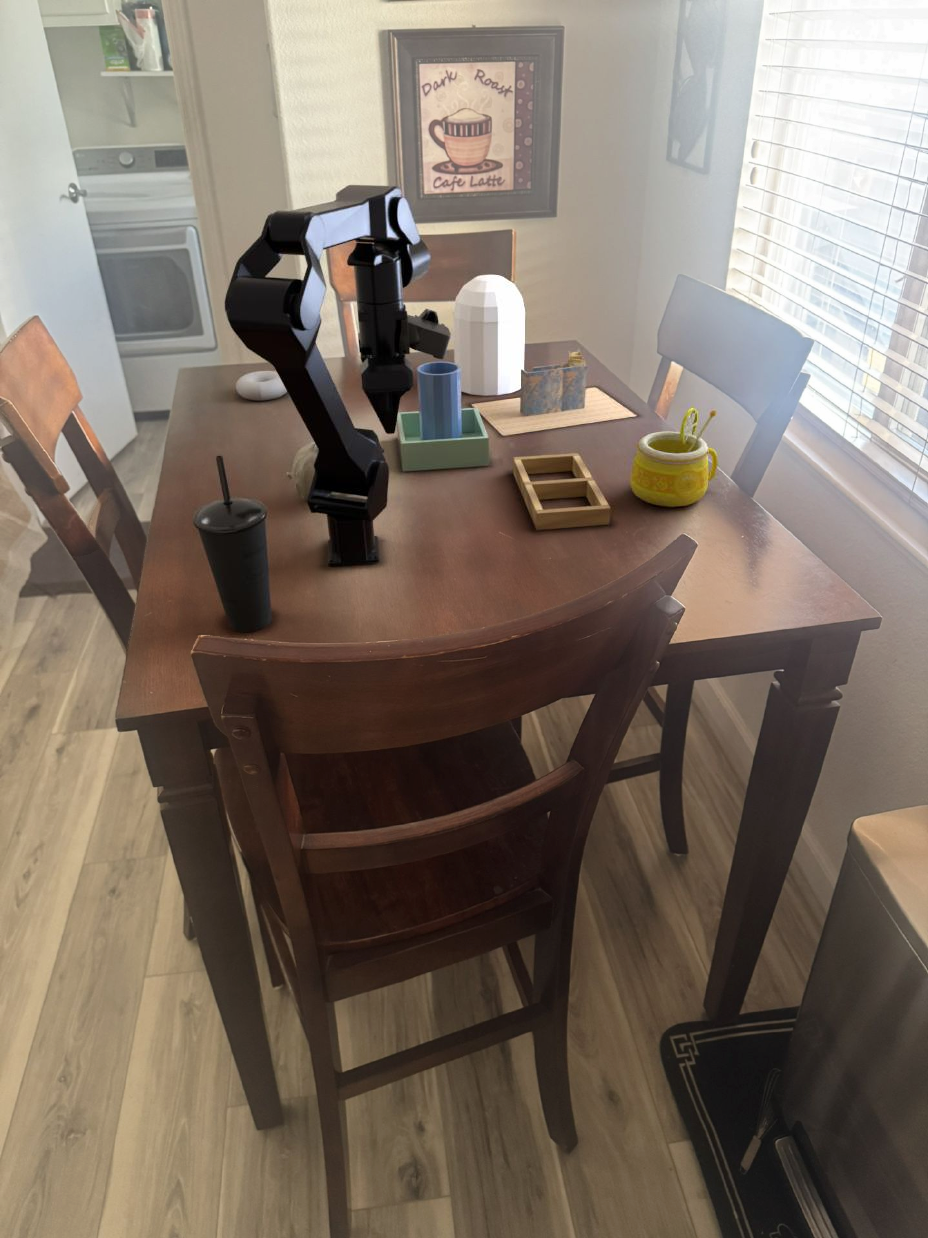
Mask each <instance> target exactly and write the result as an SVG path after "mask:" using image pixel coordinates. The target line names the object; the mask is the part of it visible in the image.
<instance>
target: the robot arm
mask: <svg viewBox="0 0 928 1238" xmlns="http://www.w3.org/2000/svg"><path fill="white" fill-rule="evenodd" d="M402 192H403V190H402V189H401V188H400V187H399V186H397V185H371V184H369V185H368V184H348V185H346V186H345V187H343V188H342V189H341V190H339V191H337V192H336V194H335V199H334V200H332V201H329V202H325V203H320V204H315V205H310V206H306V207H301V208H296V209H292V210H276V211H275V212H271V213H270V214H268V215H267V217H266V219H265V221H264V225H263V228H262V231H261V234H260V236H258V237H257V239H256V240H255V241H254V242H253V243H252V245H250V247H248V249H246V250H245V251H244V253H243V254H242V255H241V256H240V257H239V258H238V260H237V261H236V263H235V266H234V269H233V273H232V275H231V278H230V282H229V283H228V287H227V290H226V294H225V297H224V312H225V315H226V319H227V321H228V323H229V326H230V328H231V330H232V331H233V332H234V333H235V335H236V336H237V337H238V339H239V340H240V341H241V343H242V344H243V345H244V346H245V347H246V348H247V350H249V351H251V352H252V353H254V354H255V355H257V356H259V357H260V358H261V359H263V360H264V361H266V362H268V363H269V364H271V366H272V367H273V368H274V371H275V372H277V373H278V375H279V377H280V379H281V381H282V383H283V384H284V386H285V388H286V390H287V392H286V393H287V394H288V396H289V398H290V399H291V401H292V403H293V405H294V407H295V409H296V410H297V412H298V414H299V416H300V418H301V420H302V422H303V423H304V425H305V427H306V429H307V431H308V433H309V435H310V437H311V439H312V440H313V442H315V444H316V446H317V448H318V454H317V457H316V460H315V462H314V469H315V473H314V476H313V480H312V484H311V487H310V491H309V495H308V498H307V500H306V504H307V506H308V509H309V512H310V514H321V515H326V520H327V521H326V522H327V529H328V537H329V538H328V540H327V566H329V567H339V566H352V565H364V564H377V563H379V562H380V559H381V558H380V549H379V548H380V547H379V537H378V536H377V535H375V528H374V527H375V526H374V521H375V520H376V519H377V518H378V516H379V515H380V514H381V513H382V512H383V511H384V510H385V509H386V508H387V506H388V494H389V483H390V482H389V479H390V467H389V464H388V462H387V460H386V457H385V455H384V454H385V450H386V449H385V448H383V447H382V445H381V442H380V438H379V436H378V434H377V433H376V431H374V430H373V429H368V428H359V427H355V426H354V423H353V421H352V418H351V417H350V415H349V412H348V410H347V408H346V406H345V403H344V402H343V399H342V397H341V395H340V393H339V391H338V389H337V386H336V383H335V381H334V380H333V378H332V375H331V373H330V371H329V369H328V367H327V364H326V363H325V360H324V358H323V356H322V354H321V352H320V350H319V347H318V345H317V339H318V335H319V332H320V328H321V325H322V321H323V319H322V317H321V314H320V312H321V309H322V306H323V302H324V299H325V295H326V293H327V283H326V279H325V276H324V272H323V269H322V265H321V261H320V260H321V257H322V254H323V252H324V251H325V250H327V249H331V248H333V247H338V246H341V245H344V244H346V243H347V244H348V243H350V242H353V241H355V242H356V243H355V245H354V249H353V250H352V251H351V253H350V254H348V257H347V260H346V265H347V266H349V267H353V273H354V285H355V286H354V287H355V295H356V296H355V297H356V308H357V309H356V310H357V320H358V321H357V322H358V333H357V339H358V350H359V354H360V355H359V356H360V360H361V365H360V378H361V388H362V389H361V390H362V391H363V393H364V394H365V396H366V398H367V400H368V402H369V403H370V406H372V409H373V410H374V412H375V415H376V416H377V418H378V421H379V422H380V424H381V427H382V428H383V431H384V432H385V434H387V435H393V434H395V433H396V430H397V416H398V413H399V409H400V404H401V403H400V402H401V399H402V397H403V396H404V395H405V394H406V393H408V392H411V390H412V389H413V388H414V387H415V384H414V383H415V382H414V370H413V366H412V362H410V360H409V359H407V358H406V355H410V354H411V349H412V350H413V351H417V352H420V353H423V354H427V355H430V356H432V357H433V358H434V359H438V360H444V358H445V356H446V352H447V349H448V346H449V343H450V340H451V337H452V334H451V331H450V329H449V327H448V326H447V325H445V324H444V323H440V321H439V316H438V312H437V311H435V310H432V309H429V308H425V309H424V310H423V311H422V312H421V313H420V314H419V315H416V314H415V315H410V314H408V311H407V308H406V306H407V305H406V304H404V291H403V289H405V288H406V287H408V286H410V285H412V284H413V283H415V282H416V281H418V280H421V279H422V278H423V277H424V276H426V274H427V273H428V271H429V270H430V267H431V259H432V258H431V257H432V256H431V253H430V251H429V248H428V246H427V244H426V243H425V241H424V240H422V238H421V236H420V233H419V230H418V227H417V224H416V222H415V219H414V216H413V214H412V211H411V208H410V205H409V202H408V200H407V198H406V197H405V196H402ZM283 255H288V256H289V255H290V256H304V259H305V262H306V269H305V271H304V272H305V273H304V276H303V279H300V278H290V277H289V278H288V277H287V278H286V277H275V276H274V277H272V276H271V277H270V276H268V275H269V273H271V272H272V270H273V269H274V268H275V267H276V266H277V265H278V264H279V263H280V262H281V260H282V258H283ZM332 492H336V493H343V494H348V495H350V496H348V495H346V496H341V495H334V494H332ZM356 496H357V497H356ZM362 497H366V498H362Z"/></svg>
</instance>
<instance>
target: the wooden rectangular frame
mask: <svg viewBox="0 0 928 1238" xmlns="http://www.w3.org/2000/svg"><path fill="white" fill-rule="evenodd" d="M564 472H572V473H573V475H574V477H575V478H566V479H565V478H564V479H549V480H537V481H531V480H530V477H529V475H536V474H548V473H564ZM512 474H513V476H514V479H515V481H516V484H517V487H518V489H519V492H520V494H521V496H522V498H523V500H524V504H525V505H526V508H527V510H528V513H529V515H530V517H531V520H532V522H533V524H534V527H535V530H536V531H542V530H543V531H544V530H554V529H556V530H557V529H567V528H580V527H581V528H582V527H594V526H606V525H610V521H611V506H610V505H609V503H608V501H607V500H606V498H605V495H603V493H602V491H601V489H600V488H599V486H598V485H597V482H596V481H595V480H594V478H593V476H592V474H591V473H590V471H589V470H588V468H587V466H586V464H585V462H584V461H583V460H582V457H581V456H580V454H579V453H578V452H572V453H571V452H570V453H559V454H544V455H543V454H542V455H527V456H515V457H514V456H513V457H512ZM582 497H584V498H585V497H586V499H587V500H588V502H589V504H590V505H587V506H574V507H565V508H564V507H561V508H547V509H543V506H542V504H541V502H540V501H541V500H553V499H554V500H555V499H567V498H569V499H570V498H582Z"/></svg>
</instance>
